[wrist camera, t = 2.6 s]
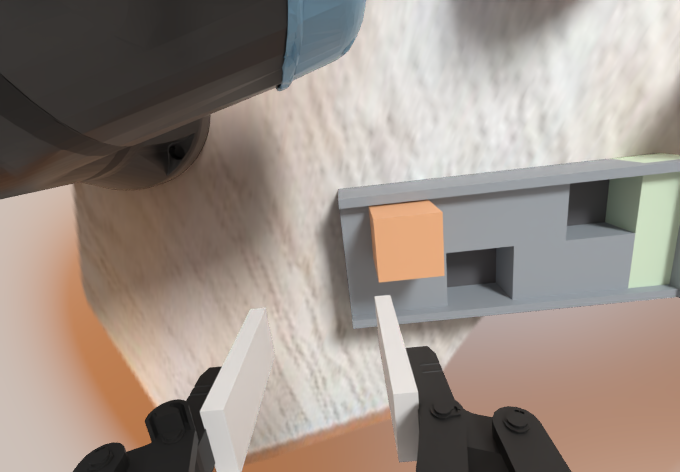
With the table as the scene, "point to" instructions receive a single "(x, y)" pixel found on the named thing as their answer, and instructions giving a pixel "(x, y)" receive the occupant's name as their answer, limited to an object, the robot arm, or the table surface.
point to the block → (407, 240)
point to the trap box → (528, 239)
